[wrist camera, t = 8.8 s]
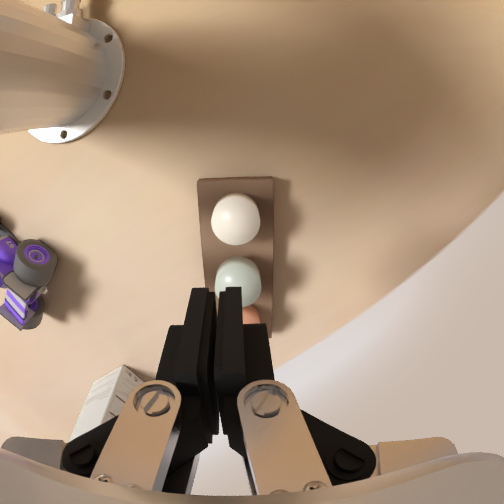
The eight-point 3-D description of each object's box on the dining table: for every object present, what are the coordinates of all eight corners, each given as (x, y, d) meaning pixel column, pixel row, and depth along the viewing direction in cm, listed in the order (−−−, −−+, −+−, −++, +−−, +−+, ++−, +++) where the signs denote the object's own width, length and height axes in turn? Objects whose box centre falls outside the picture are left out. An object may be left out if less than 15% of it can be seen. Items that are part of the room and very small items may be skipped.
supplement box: (131, 410, 36) (112, 482, 24) (93, 379, 34) (62, 452, 22) (165, 397, 35) (149, 478, 23) (124, 362, 32) (93, 446, 21)
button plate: (199, 178, 24) (196, 181, 23) (271, 176, 24) (273, 179, 23) (212, 330, 30) (211, 339, 29) (270, 329, 30) (271, 338, 29)
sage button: (215, 257, 24) (212, 268, 22) (259, 255, 24) (261, 266, 22) (218, 295, 25) (216, 308, 24) (259, 294, 26) (261, 307, 24)
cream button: (212, 193, 23) (209, 199, 21) (258, 192, 23) (260, 197, 21) (214, 236, 24) (212, 246, 23) (258, 235, 24) (260, 244, 23)
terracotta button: (219, 303, 27) (218, 315, 25) (259, 302, 27) (260, 314, 25) (222, 333, 28) (221, 347, 26) (259, 332, 28) (260, 346, 27)
